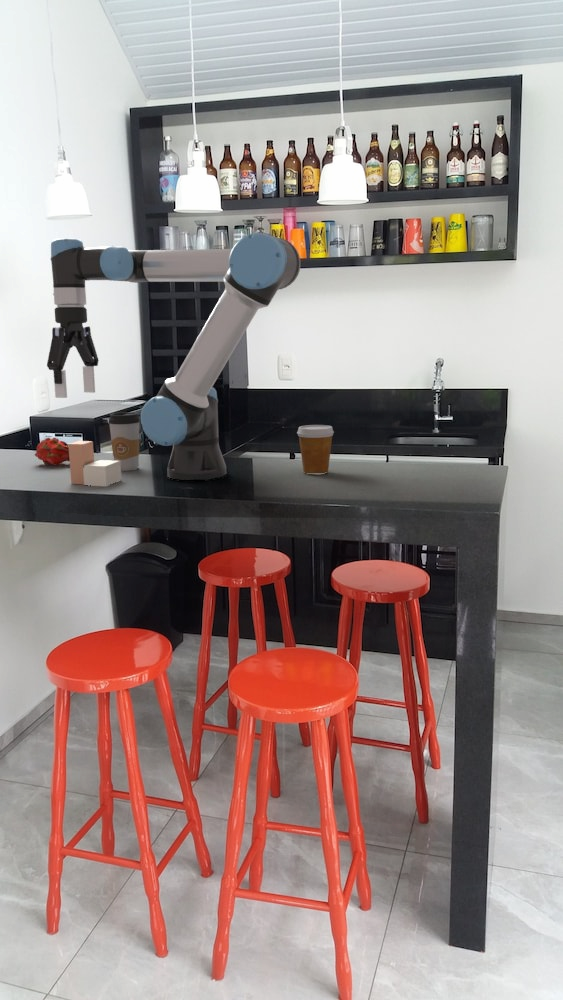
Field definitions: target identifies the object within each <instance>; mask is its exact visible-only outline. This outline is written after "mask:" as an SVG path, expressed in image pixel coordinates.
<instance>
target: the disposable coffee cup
mask: <svg viewBox="0 0 563 1000" xmlns="http://www.w3.org/2000/svg"><path fill="white" fill-rule="evenodd" d="M334 433H335V431H334V429H333V426H331V425H325V424H309V425H308V424H307V425H301V426H299V427H298V429H297V431H296V434H297V436H298V439H299V440H298V442H299V447H300V454H301V461H302V462H301V464H302V469H303V473H304V472H305V473H325V472H328V473H329V468H330V457H331V452H332V451H331V450H332V441H333V436H334Z"/></svg>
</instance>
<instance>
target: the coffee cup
mask: <svg viewBox="0 0 563 1000" xmlns="http://www.w3.org/2000/svg"><path fill="white" fill-rule="evenodd" d="M140 423H141V420H140V417H139V415H138V412H131V411H130V412H127V411H126V412H125V411H124V412H113V413H110V414H109V417H108V425H109V431H110V442H111V449H112V456H113V461H120V465H121V472H128V471H129V472H130V470H131V471H136V470H137V469H139V468H138V467H140V461H139V460H140V459H139V457H140Z"/></svg>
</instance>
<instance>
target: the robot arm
mask: <svg viewBox="0 0 563 1000" xmlns="http://www.w3.org/2000/svg"><path fill="white" fill-rule="evenodd" d="M50 262H51V273H52V281H53V284H52V286H53V293H52V295H53V303H54V305H55V306H56V307H55V308H54V319H55V320H54V321H55V323H57V324H60V326H59V327H58V326H53V327H52V330H51V331H52V333H51V334H52V336H51V338H52V339H51V341H50V348H49V352H48V358H47V364H46V366H47V369H48V370H50V371H53V383H54V394H55V395H54V397H55V398H57V399H67V398H68V392H67V390H68V389H67V388H68V387H67V376H66V375H67V374H66V373H67V372H66V369H64V367H65V364H66V363H67V362H66V361H67V360H68V359H67V358H68V356H69V353H70V350H71V348H73V347H75V348H76V351H77V353H78V356H79V357H80V359H81V361H82V362H83V364H84V366H82V375H83V376H82V378H83V379H82V381H83V391H84V392H83V393H91V394H92V393H96V384H95V383H96V382H95V367H98V366H99V357H98V354H97V351H96V347H95V344H94V341H93V337H92V332H91V327H90V326H87V325H85V326H84V325H83V324H86V323H87V322H88V312H87V311H88V310H87V308H86V307H85V306H86V305H87V294H86V293H87V292H86V291H87V290H86V281H113V282H114V281H115V282H129V283H147V282H149V283H150V282H151V283H153V282H154V283H155V282H157V283H158V282H159V283H163V282H173V283H174V282H183V283H184V282H185V283H186V282H194V283H195V282H197V283H198V282H200V283H201V282H203V283H204V282H205V283H207V282H209V283H210V282H214V283H215V282H217V283H218V282H223V284H224V285H225V286H224V287H225V288H224V291H223V293H222V294H221V296H220V297H219V299H218V301H217V303H216V304H215V306H214V308H213V310H211V311H212V312H211V313H210V314H209V317H208V319H207V320H206V322H205V324H204V326H203V327H202V329H201V331H200V332H199V334H198V336H197V337H196V339H195V341H194V343H193V345H192V347H191V348H190V350H189V352H188V354H186V357H185V359H184V361H183V362H182V364H181V365H180V368H179V369H178V370H177V373H176V375H175V376H174V377H169V378H166V380H164V381H163V384H162V386H161V388H160V390H159V391H158V393H157V394H156V396H154V397H151V398H150V399H149V400H148V401H146V402H145V403H144V405H143V407H142V409H141V412H140V423H141V426H142V429H143V432H144V434H145V436H146V437H148V439H149V440H150V441H152V442H153V443H154V444H157V445H160V446H166V447H168V446H172V450H171V454H170V459H169V461H168V464H167V471H166V472H167V478H168V477H169V478H168V479H170V478H172V479H171V480H173V479H181V480H184V479H185V480H191V479H192V480H193V479H208V478H215V477H220V476H223V475H225V474H227V465H226V462H225V459H224V456H223V453H222V451H221V449H220V448H221V447H220V445H219V444H220V443H219V442H220V441H219V440H220V439H219V410H218V409H219V407H218V405H219V404H218V403H219V399H218V394H217V393H218V392H217V390H216V388H215V387H214V385H215V383H216V381H217V380H218V378H219V376H220V375H221V373H222V371H223V369H224V368H225V366H226V364H227V363H228V361H229V359H230V357H231V356H232V354H233V352H234V351H235V348H236V347H237V346H238V344H239V342H240V341H241V339H242V338H243V335H244V334H245V332H246V331H247V329H248V327H250V326H249V325H250V324H251V322H252V321H253V319H254V317H255V315H256V314H257V312H258V310H259V309H262V308H263V309H264V308H267V307H269V305H270V303H271V302H272V300H273V298H274V297H275V295H276V293H277V292H278V290H283V289H286V288H287V287H290V286H291V285H292V284H293V283H294V282H295V281H296V279H297V278H298V276H299V274H300V270H301V265H302V264H301V258H300V254H299V251H298V249H297V248H296V247H295V245H293V244H292V242H290V241H289V240H288V239H285V238H282V237H276V236H273V235H271V234H270V233H263V232H257V233H250V234H247V235H245V236H243V237H242V238H240V239H239V240H238V241H237V242H236V243H235V244H234V246H233V247H232V248H219V249H218V248H214V249H211V248H209V249H208V248H207V249H206V248H205V249H204V248H203V249H153V250H151V249H150V250H149V249H148V250H146V249H145V250H143V249H141V250H139V249H137V250H133V249H132V250H131V249H128V248H127V247H125V246H117V245H116V246H114V245H109V246H98V247H97V246H95V247H84V244H83V241H82V240H81V239H78V238H55V239H53V240H52V241H51V243H50Z"/></svg>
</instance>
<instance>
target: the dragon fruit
mask: <svg viewBox="0 0 563 1000" xmlns="http://www.w3.org/2000/svg"><path fill="white" fill-rule="evenodd" d="M68 444H69V443H67V442H65V441H62V440H60V439H58V437H52V438H51V437H46V438H45V439H42V440H41V441H40V442H39V443H38V444H37V446H36V452H35V453H34V456H35V457H37V458H38V460H40V461H42V462H43V464H44V465H45V466H46V465H47V464H50V465H54V466H56V467H62V466H66V464H65V462H69V463H70V460H69V446H68ZM60 463H61V464H60Z"/></svg>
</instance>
